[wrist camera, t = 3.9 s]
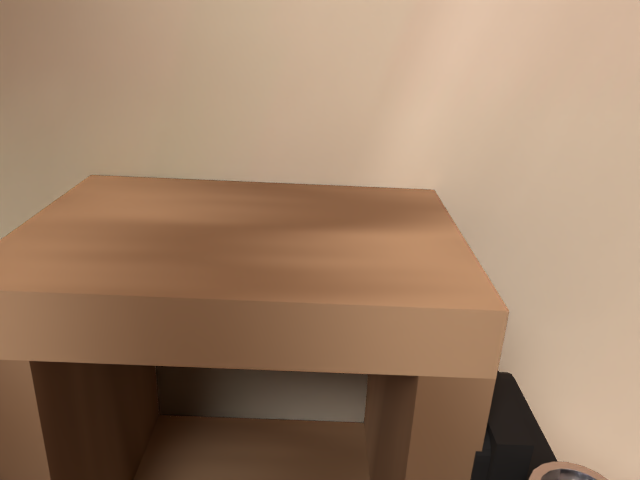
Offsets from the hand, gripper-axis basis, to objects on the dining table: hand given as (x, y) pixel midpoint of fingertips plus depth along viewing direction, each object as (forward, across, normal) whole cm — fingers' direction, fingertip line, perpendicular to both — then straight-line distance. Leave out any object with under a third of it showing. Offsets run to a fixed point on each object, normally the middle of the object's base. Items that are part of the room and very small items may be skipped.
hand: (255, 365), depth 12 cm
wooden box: (+1, 0, 0) cm, 1 cm away
